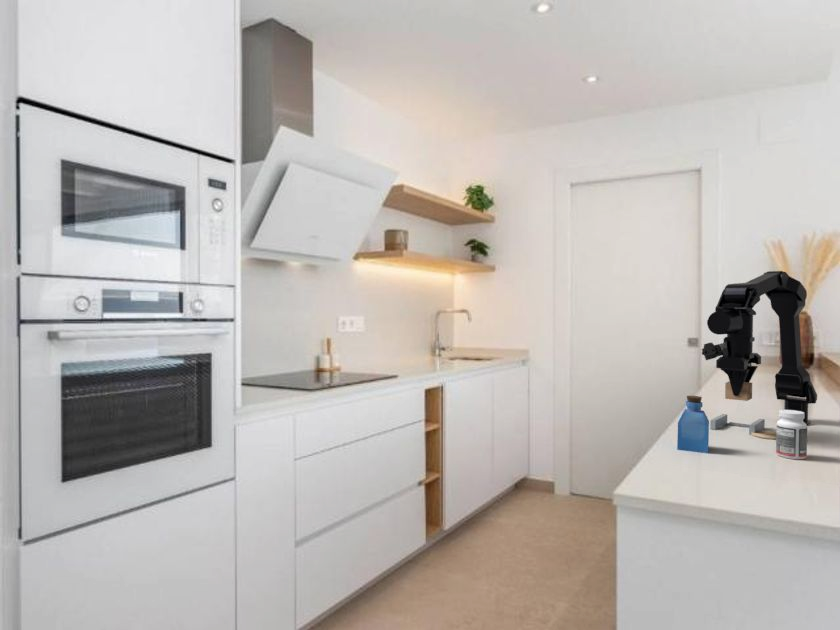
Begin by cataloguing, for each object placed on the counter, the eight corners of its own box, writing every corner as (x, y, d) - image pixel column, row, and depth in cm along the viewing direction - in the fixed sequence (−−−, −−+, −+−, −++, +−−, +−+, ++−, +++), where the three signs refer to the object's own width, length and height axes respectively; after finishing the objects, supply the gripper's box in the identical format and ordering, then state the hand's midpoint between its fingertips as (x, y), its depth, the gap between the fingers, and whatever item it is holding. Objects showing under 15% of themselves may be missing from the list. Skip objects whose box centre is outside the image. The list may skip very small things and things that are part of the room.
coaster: (754, 431, 154) (754, 428, 154) (789, 436, 148) (789, 433, 148) (747, 435, 148) (747, 433, 148) (783, 441, 142) (783, 438, 142)
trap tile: (730, 423, 164) (730, 422, 164) (758, 426, 159) (758, 425, 159) (727, 424, 162) (727, 423, 162) (755, 428, 157) (755, 427, 157)
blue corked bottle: (677, 449, 132) (678, 397, 132) (679, 444, 138) (680, 393, 138) (707, 453, 130) (708, 399, 129) (708, 447, 135) (709, 396, 135)
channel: (722, 422, 164) (722, 413, 164) (764, 428, 157) (764, 419, 157) (710, 429, 155) (710, 419, 155) (754, 435, 148) (754, 425, 148)
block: (730, 396, 152) (730, 380, 152) (752, 398, 148) (752, 382, 148) (725, 398, 148) (725, 383, 148) (747, 400, 145) (747, 384, 145)
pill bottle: (797, 453, 130) (798, 409, 130) (812, 460, 125) (813, 414, 124) (770, 452, 131) (771, 408, 131) (783, 459, 125) (785, 413, 125)
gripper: (716, 330, 160) (715, 386, 160) (694, 333, 146) (693, 395, 147) (762, 332, 153) (760, 391, 153) (744, 335, 139) (743, 400, 139)
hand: (738, 394), depth 148 cm, fingers closed on block, 5 cm apart
